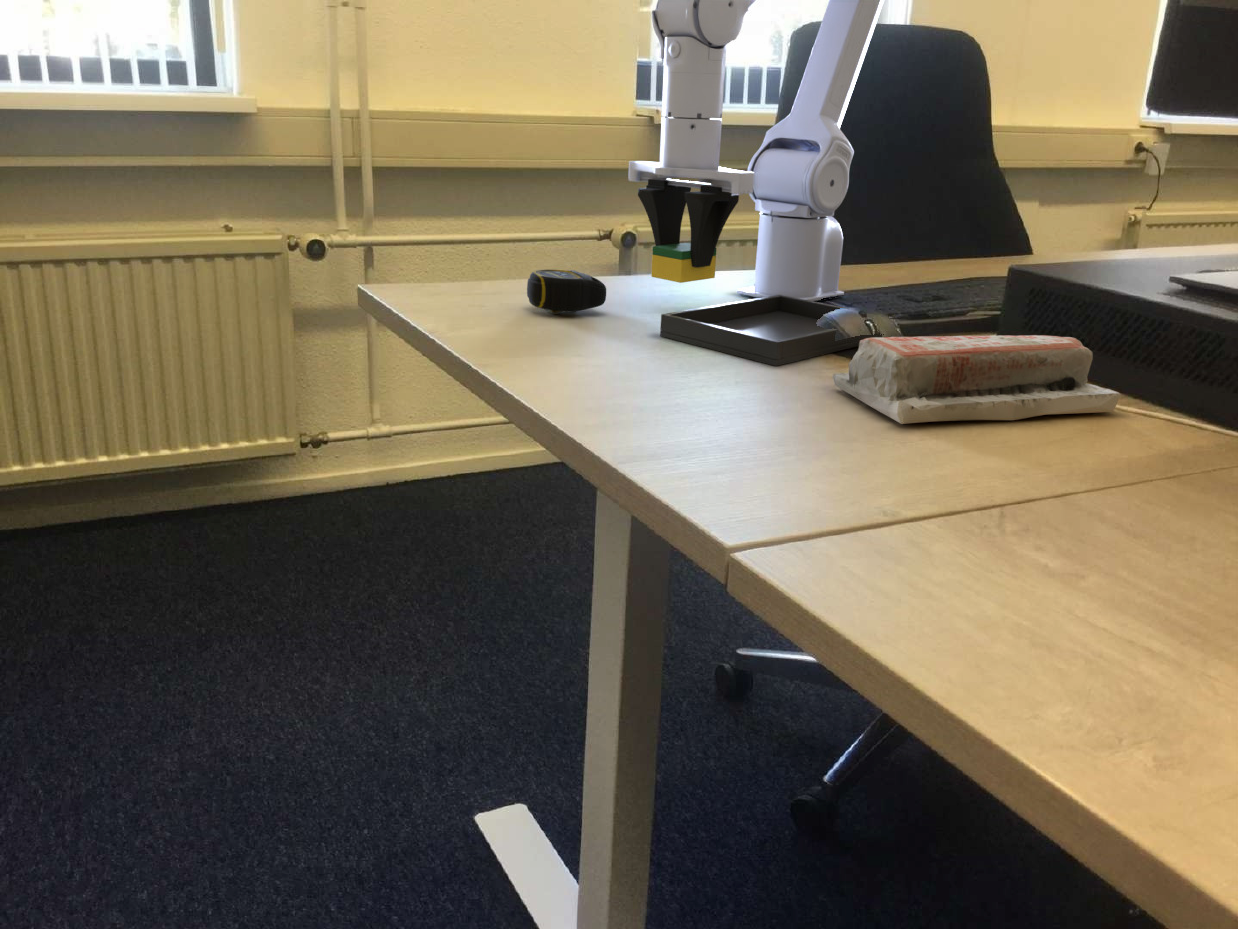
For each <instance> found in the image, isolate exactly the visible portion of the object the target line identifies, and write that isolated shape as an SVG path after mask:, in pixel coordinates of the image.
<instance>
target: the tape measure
mask: <svg viewBox="0 0 1238 929" xmlns="http://www.w3.org/2000/svg"><path fill="white" fill-rule="evenodd" d="M526 296H527V298H528V302H529V303H530V304H531V305H532V306H534V307H535V308H539V309H542V310H544V311H545V312H546V313H547V312H548V313H550V314H552V315H557V314H560V313H563V312H569V313H570V312H571V313H572V312H578V311H579V312H580V311H584V310H591V309H595V308H597V307H601V306H603V305H604V304H605V302H606V301H607V286H606V285H605V283H604V282H602V281H601V280H600V279H599V278H596V277H594V276H591V275H589V274H587V273H584V272H580V271H577V270H574V269H569V270H564V269H555V268H554V269H539V270H538V269H537V270H533V271H532V272H531V273H530V275H529V278H528V279H527V285H526Z"/></svg>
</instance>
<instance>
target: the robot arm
mask: <svg viewBox="0 0 1238 929" xmlns="http://www.w3.org/2000/svg"><path fill="white" fill-rule="evenodd" d="M756 2H758V0H657V1H656V6H655V9H653V10H652V11H651V23H652V28H653V30H654V33H655V35H656V37H657V39H658V43H659V59H661V63H662V65H663V72H662V73H663V75H662V93H661V95H662V96H661V118H660V119H661V121H660V140H659V141H660V142H659V143H660V144H659V161H650V160H629V161H628V178H627V179H628V182H635V183H637V182H642V183H643V182H644V183H647V184H646V186H645V187H639V188H638V189H637V196H638V198H639V200H640V202H641V204H642V207H643V209H644V210H645V212H646V215H647V217H648V218H647V219H648V221H649V223H650V227H651V231H652V235H653V239H654V244H655V245H654V246H661V245H670V244H679V243H680V241H681V229H682V223H683V217H684V213H685V208H686V207H687V211H688V212H687V214H688V217H689V227H690V243H691V250H690V251H691V263H692V267H705V266H710V264H711V261H712V258H713V254H714V251H715V248H717V244H718V242H719V239H720V236H721V235H722V231H723V229H724V227H725V224H726V223H727V221H728V219H729V217H730V216H731V214H732V212H733V210H734V209H735V208H736V206H737V205H738V203H739V200H740V195H749V197H750V199H751V200H752V201H753V202H754V203H755V205H754V211H756V212H759V221H758V232H757V233H758V234H757V246H756V257H755V270H754V282H753V286H749V287H742V288H737V289H736V293H737V294H739V295H744V296H748V297H753V298H763V297H769V296H775V295H784V296H789V297H794V298H799V299H804V300H809V301H814V302H818V301H822V300H821V299H823V298H826V297H830V296H837V295H845V292H844V291H842V290H839V281H840V273H841V265H842V256H843V255H842V254H843V247H844V246H843V245H844V236H843V235H844V234H843V231H842V228H841V225H840V223H839V221H838V220H837V219H836V218H835V217H834V216H835V211H836V210H837V209H838V208H839V207H840V206H841V205H842V203H843V201H844V199H845V197H846V195H847V192H848V189H849V184H850V168H851V164H852V160H853V157H854V155H855V150H854V147H853V146H852V144H851V142H850V141H849V139H848V138H847V137H846V135H845V134H844V132H843V131H842V130H841V125H842V123H843V120H844V118H845V114H846V111H847V109H848V106H849V102H850V100H851V97H852V94H853V91H854V89H855V85H856V82H857V80H858V77H859V74H860V71H861V69H862V66H863V63H864V60H865V57H866V54H867V52H868V48H869V45H870V42H871V40H872V37H873V34H874V31H875V28H876V25H877V23H878V20H879V17H880V14H881V11H882V8H883V5H884V3H885V0H828V3H827V6H826V9H825V12H824V13H823V14H824V15H823V17H822V20H821V23H820V26H819V29H818V31H817V35H816V38H815V41H814V44H813V47H812V49H811V52H810V55H809V58H808V61H807V64H806V67H805V70H804V73H803V76H802V79H801V82H800V85H799V88H798V90H797V93H796V96H795V99H794V101H793V105H792V108H791V111H790V113H789V114H788V115H787V116H786V117H785V118H783V119H781V120H780V121H778V122H777V123H776V124H774V125H773V126H772V127H771V128H769V129H768V130H767V131H766V132H765V136H764V138H763V141H762V143H761V145H760V147H759V149H757V151H756V152H755V153H754V154H753V156H752V157H751V159H750V161H749V163H748V167H747V170H746V171H745V170H740V169H733V168H727V167H722V166H720V155H721V154H720V153H721V140H722V138H721V137H722V124H723V108H724V107H723V106H724V90H725V76H726V75H725V74H726V60H727V46H728V44H730V43H731V42H732V41H734V40H736V39H737V38H738V36H739V34H740V32H741V29H742V27H743V23H744V17H745V15H746V14H747V12H749V9H750V8H751V7H752V6H753V5H754V4H755V3H756ZM672 178H673V179H672ZM674 178H684V179H685V178H686V179H697V181H691V180H690V181H689V180H682V179H681V180H680V179H674ZM692 189H700V190H699V191H692Z"/></svg>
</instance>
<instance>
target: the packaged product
mask: <svg viewBox="0 0 1238 929" xmlns="http://www.w3.org/2000/svg"><path fill="white" fill-rule="evenodd" d="M1093 358H1094V357H1093V351H1092V350H1090V349H1089V348H1088V347H1086V346H1084V345H1083V343H1082V342H1081V340H1079V339H1077V338H1076V337H1071V336H1058V335H1047V334H1045V335H1044V334H1043V335H1041V334H1040V335H1037V334H1032V335H1021V334H1020V335H1006V334H1005V335H1001V334H1000V335H970V334H969V335H951V336H950V335H944V336H943V335H942V336H922V335H921V336H891V337H879V338H877V337H872V338H866V339H863V340H860V343H859V346H858V349H857V351H856V352H855V354H854V355H853V357H852V359H851V361H849V363H848V372H845V373H843V372H841V373H840V372H837V373H835V372H834V373H833V374H832V381H833V384H834V386H835V387H836V388H838V389H840V390H842V391H844V392H845V393H847V394H849V395H850V396H852V397H854V398H855V399H857V400H859V401H860V402H862V403H864V404H865V405H867V406H869V407H871V408H872V409H874V410H876V411H877V412H879V413H881V414H883V415H885V416H886V417H888V418H890V419H892V420H894V421H895V422H897V423H899V424H900V425H903V424H917V423H928V422H929V423H930V422H931V423H932V422H957V421H959V422H960V421H1015V420H1016V421H1017V420H1022V419H1027V418H1033V417H1039V416H1044V415H1065V414H1067V415H1069V414H1090V413H1091V414H1092V413H1113V412H1115V410H1116V407H1117V405H1118V402H1119V400H1120V397H1121V395H1122V394H1121V393H1120V392H1118V391H1115V390H1112V389H1110V388H1105V387H1101V386H1099V385H1095V384H1091V383H1087V382H1088V380H1089V379H1088V376H1089V373H1090V370H1091V366H1092V363H1093Z"/></svg>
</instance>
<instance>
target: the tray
mask: <svg viewBox="0 0 1238 929" xmlns="http://www.w3.org/2000/svg"><path fill="white" fill-rule="evenodd" d="M840 308H845V307H844V306H839V305H834V304H828V303H823V302H818V301H809V300H804V299H799V298H794V297H789V296H784V295H775V296H769V297H763V298H757V297H755V298H750V299H745V300H739V301H733V302H726V303H721V304H716V305H710V306H709V305H708V306H703V307H698V308H691V309H684V310H679V311H673V312H666V313H661V314H660V331H659V337H663V338H666V339H671V340H674V341H678V342H682V343H686V344H689V345H693V346H697V347H701V348H705V349H709V350H713V351H717V352H720V353H724V354H728V355H733V356H736V357H739V358H744V359H747V360H751V361H755V362H758V363H762V364H767V365H771V366H774V367H778V366H781V365H782V366H783V365H786V364H789V363H794V362H799V361H802V360H807V359H811V358H815V357H821V356H824V355H828V354H832V353H836V352H840V351H845V350H848V349H853V348H857V347H859V343H860V340H863V339H866V338H872V337H877V338H879V337H882V334H881V335H879V334H874V335H873V334H872V335H860V336H855V337H851V338H847V339H842V340H838V341H835V334H836V331H837V329H834V328H832V329H824V328H822V327H820V326H817V324H816V322H817V320H818V319H820V318H821V317H822V316H823V314H825V313H828V312H830V311H834V310H835V309H840ZM889 318H890V319H893V320H894V317H893V316H889ZM883 335H884V334H883Z"/></svg>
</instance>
